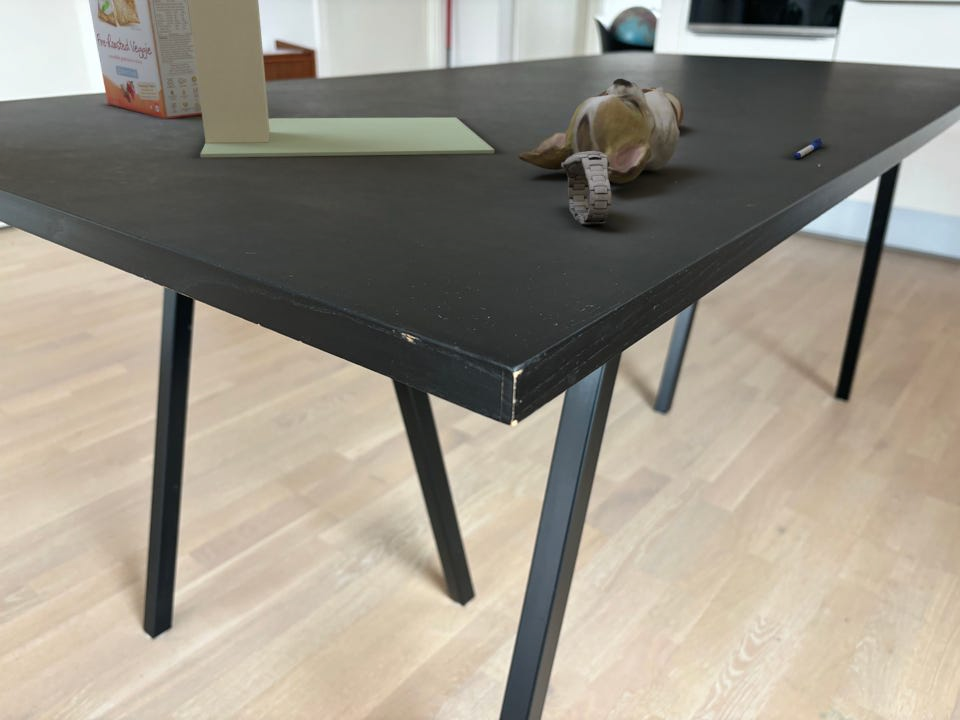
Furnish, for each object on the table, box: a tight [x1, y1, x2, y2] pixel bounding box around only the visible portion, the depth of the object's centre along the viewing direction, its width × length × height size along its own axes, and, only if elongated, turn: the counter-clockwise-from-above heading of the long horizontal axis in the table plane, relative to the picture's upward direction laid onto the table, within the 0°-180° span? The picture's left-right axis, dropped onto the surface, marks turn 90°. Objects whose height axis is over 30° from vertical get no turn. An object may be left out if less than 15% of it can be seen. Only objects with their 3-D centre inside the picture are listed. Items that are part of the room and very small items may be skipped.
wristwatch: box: [562, 151, 612, 226], centre depth 55 cm, size 4×6×5 cm, turn 8°
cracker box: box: [88, 0, 202, 120], centre depth 90 cm, size 14×6×21 cm, turn 49°
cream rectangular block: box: [188, 0, 270, 143], centre depth 75 cm, size 6×6×18 cm
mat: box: [199, 117, 495, 159], centre depth 83 cm, size 28×20×1 cm
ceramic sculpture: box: [517, 78, 681, 184], centre depth 67 cm, size 11×9×15 cm
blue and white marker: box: [793, 138, 823, 160], centre depth 82 cm, size 10×1×1 cm, turn 147°
